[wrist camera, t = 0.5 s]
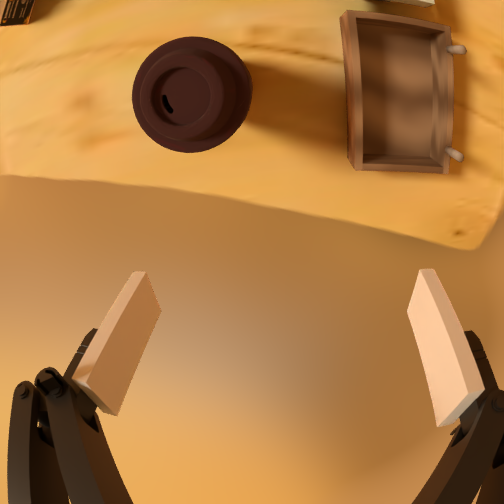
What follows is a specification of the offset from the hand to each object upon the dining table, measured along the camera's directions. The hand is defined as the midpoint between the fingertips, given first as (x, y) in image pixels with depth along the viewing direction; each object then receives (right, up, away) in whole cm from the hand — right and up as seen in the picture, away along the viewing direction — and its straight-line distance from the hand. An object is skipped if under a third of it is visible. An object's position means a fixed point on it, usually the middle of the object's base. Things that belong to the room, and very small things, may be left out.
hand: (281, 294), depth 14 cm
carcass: (+16, +21, +15) cm, 30 cm away
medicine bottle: (-39, +42, +9) cm, 58 cm away
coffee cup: (-5, +22, +18) cm, 29 cm away
